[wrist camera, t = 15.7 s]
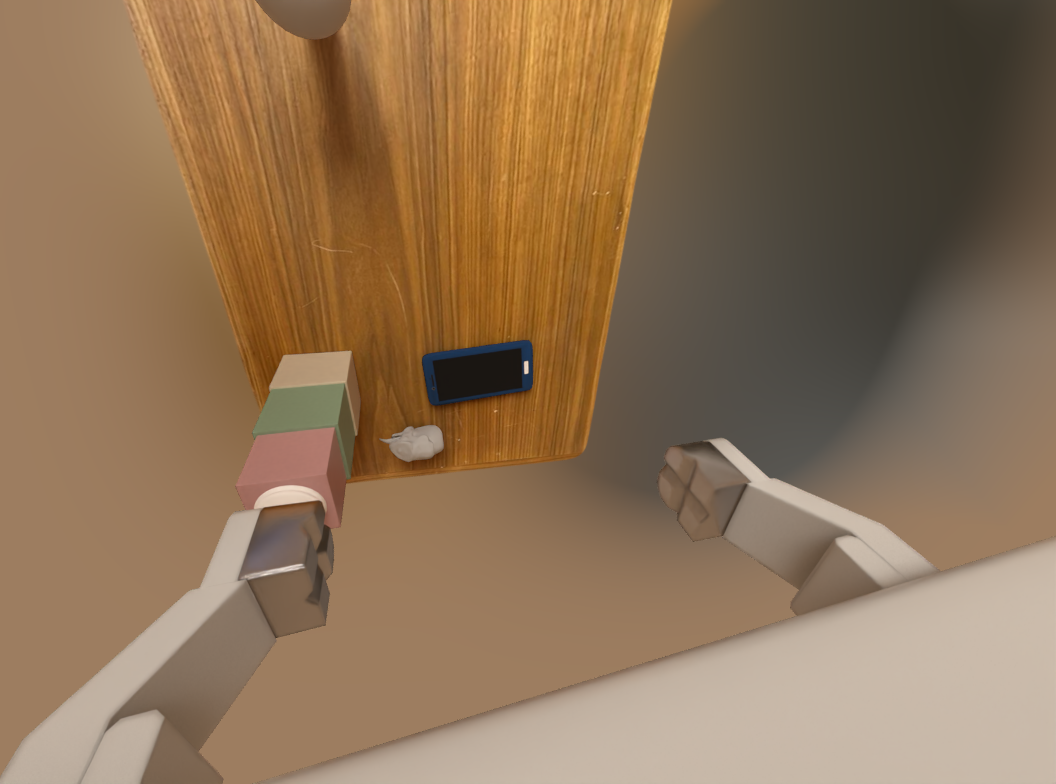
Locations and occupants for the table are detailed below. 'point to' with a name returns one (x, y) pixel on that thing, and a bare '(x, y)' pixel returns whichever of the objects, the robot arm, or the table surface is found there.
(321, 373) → the block stack
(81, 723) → the robot arm
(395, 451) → the figurine
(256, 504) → the chess piece
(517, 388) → the cell phone
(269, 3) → the lightbulb
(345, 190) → the table surface
